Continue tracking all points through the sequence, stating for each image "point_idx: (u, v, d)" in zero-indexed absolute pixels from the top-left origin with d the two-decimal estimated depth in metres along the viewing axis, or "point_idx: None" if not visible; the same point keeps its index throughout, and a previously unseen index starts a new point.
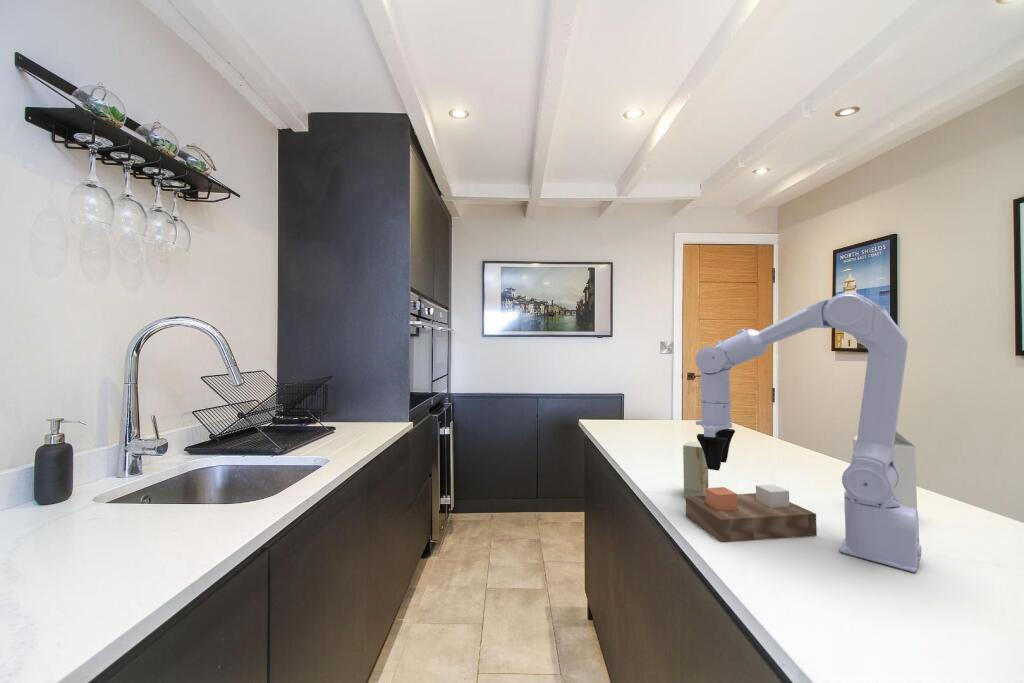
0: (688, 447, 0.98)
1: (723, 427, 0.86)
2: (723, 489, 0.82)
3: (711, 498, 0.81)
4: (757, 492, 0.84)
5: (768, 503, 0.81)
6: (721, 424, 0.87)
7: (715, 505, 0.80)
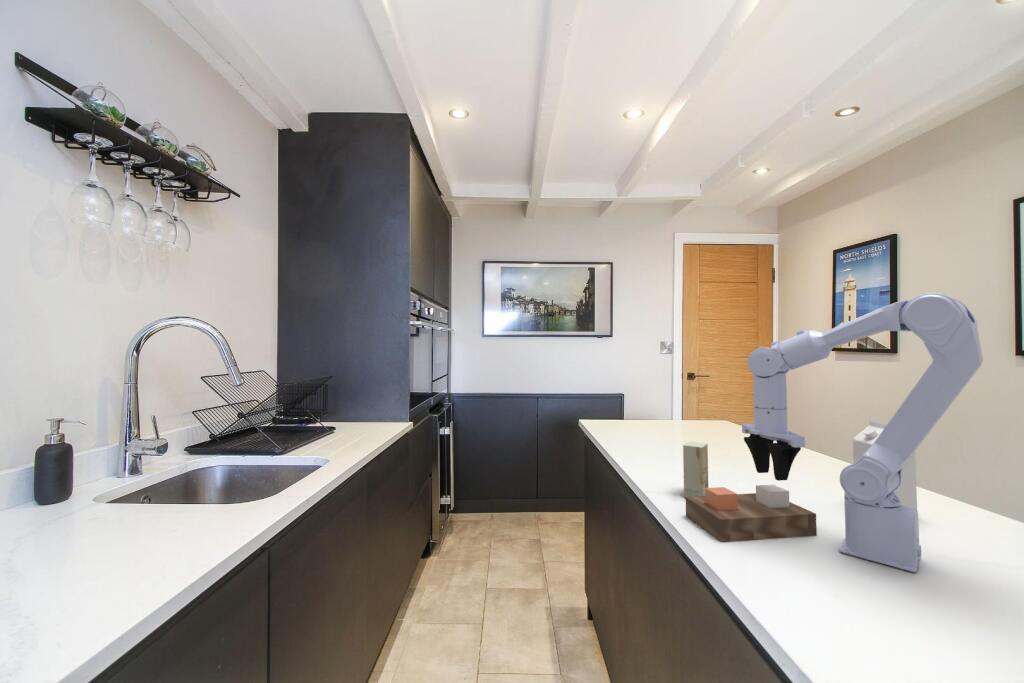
0: (688, 447, 0.98)
1: None
2: (723, 489, 0.82)
3: (711, 498, 0.81)
4: (757, 492, 0.84)
5: (768, 503, 0.81)
6: (787, 431, 0.81)
7: (715, 505, 0.80)
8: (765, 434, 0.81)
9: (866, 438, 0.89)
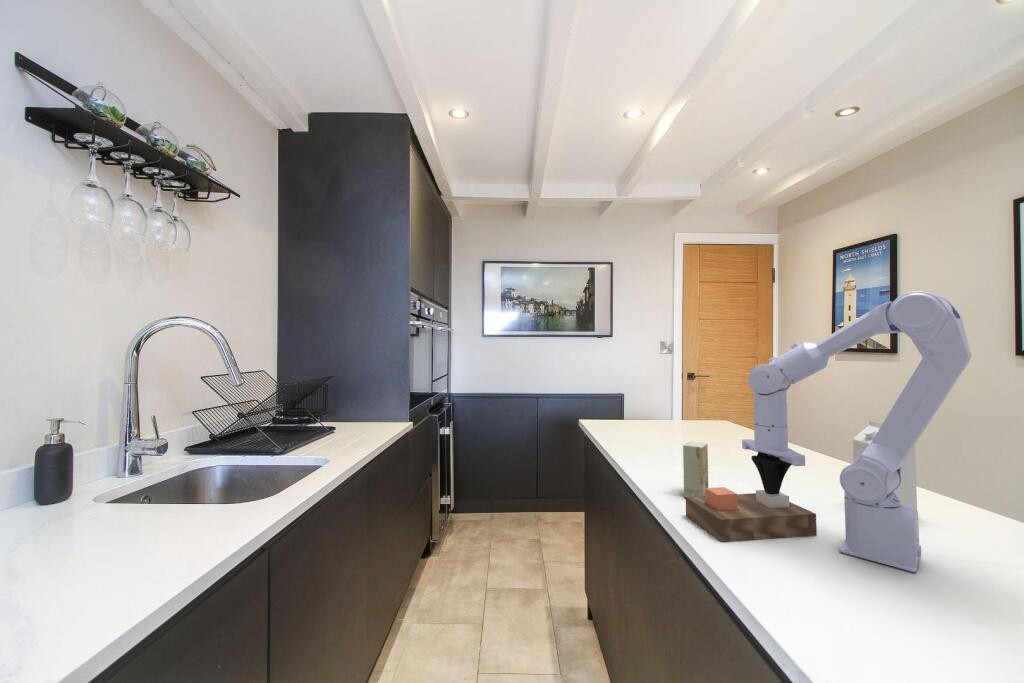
0: (688, 447, 0.98)
1: None
2: (723, 489, 0.82)
3: (711, 498, 0.81)
4: (757, 496, 0.84)
5: None
6: (787, 449, 0.81)
7: (715, 505, 0.80)
8: (765, 452, 0.81)
9: (866, 438, 0.89)
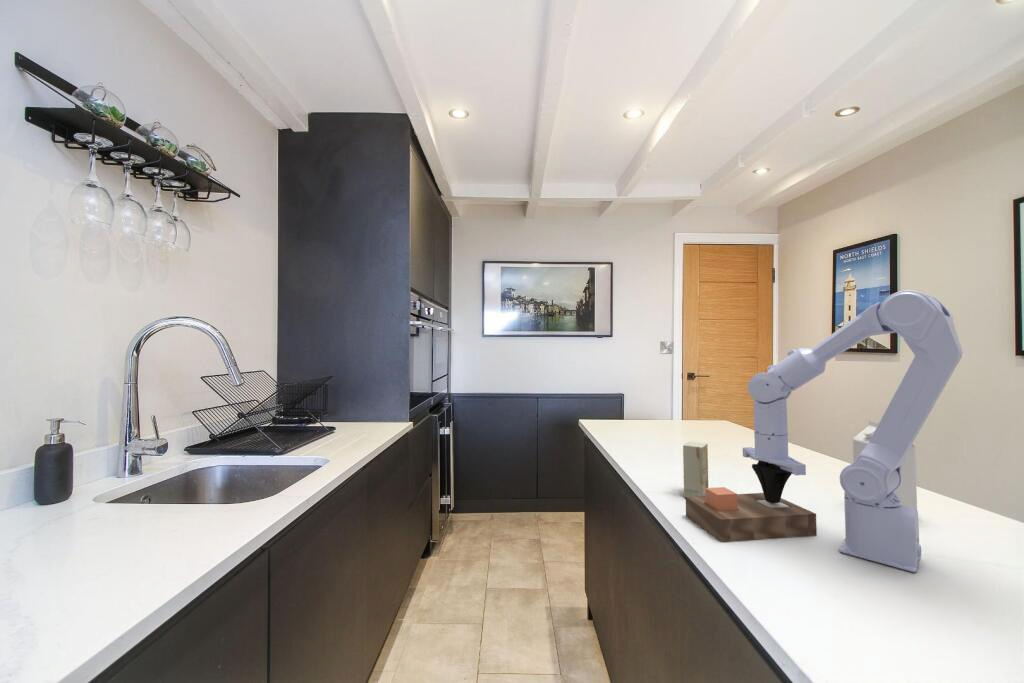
0: (688, 447, 0.98)
1: None
2: (723, 489, 0.82)
3: (711, 498, 0.81)
4: None
5: None
6: (787, 457, 0.81)
7: (715, 505, 0.80)
8: (766, 460, 0.81)
9: (866, 438, 0.89)
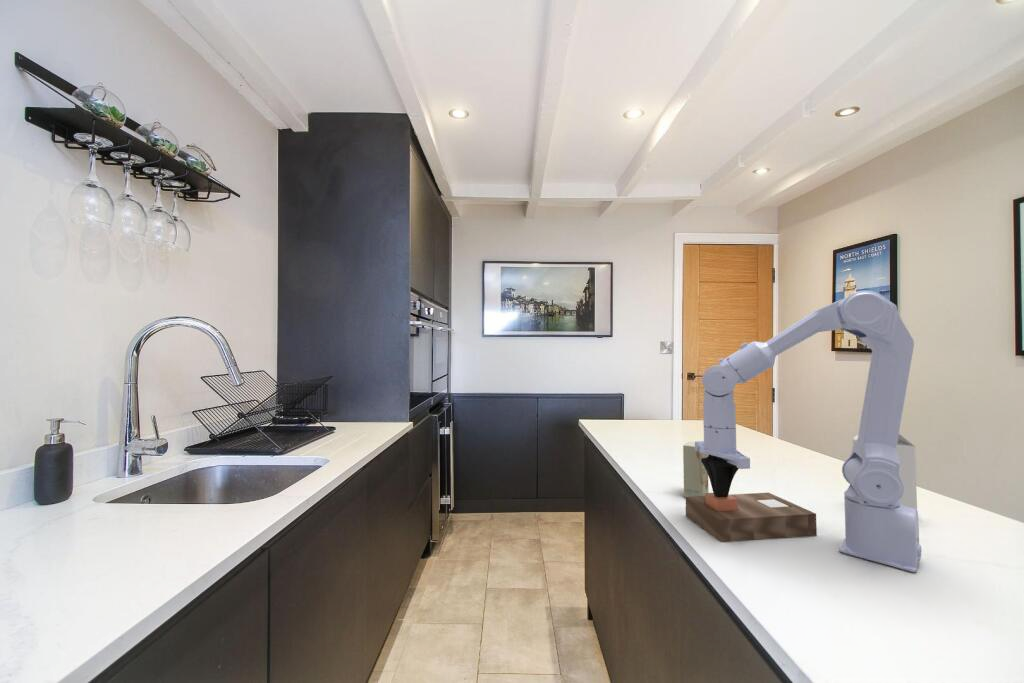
0: (688, 447, 0.98)
1: None
2: None
3: (711, 503, 0.81)
4: None
5: None
6: (735, 451, 0.80)
7: None
8: (713, 454, 0.80)
9: None
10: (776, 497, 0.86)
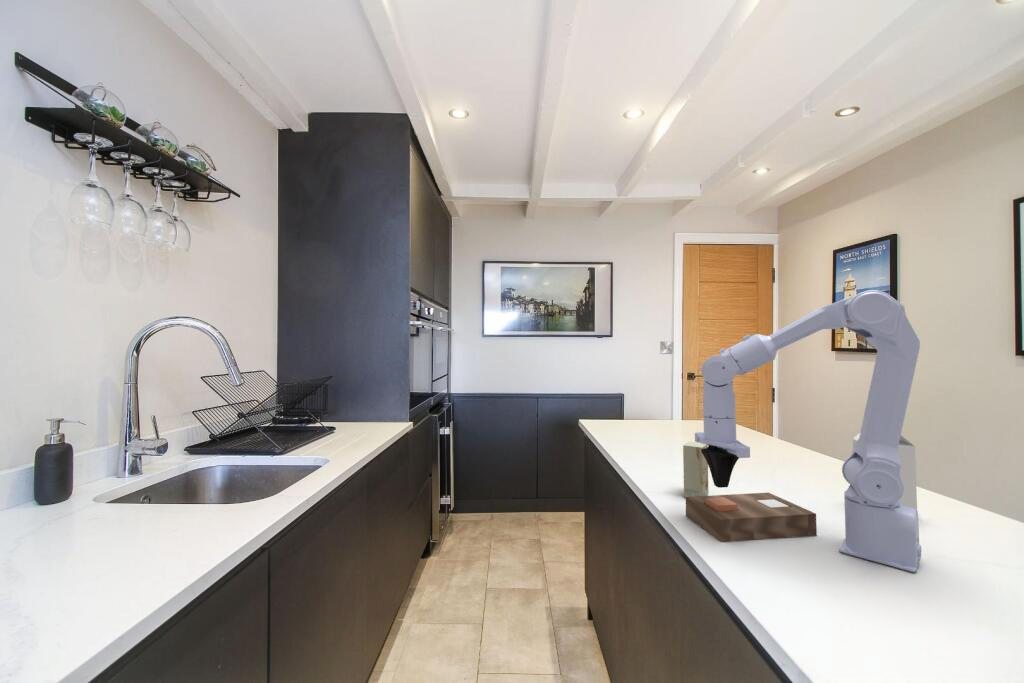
0: (688, 447, 0.98)
1: None
2: (723, 499, 0.82)
3: None
4: None
5: None
6: (735, 441, 0.80)
7: None
8: (713, 444, 0.80)
9: None
10: (776, 497, 0.86)
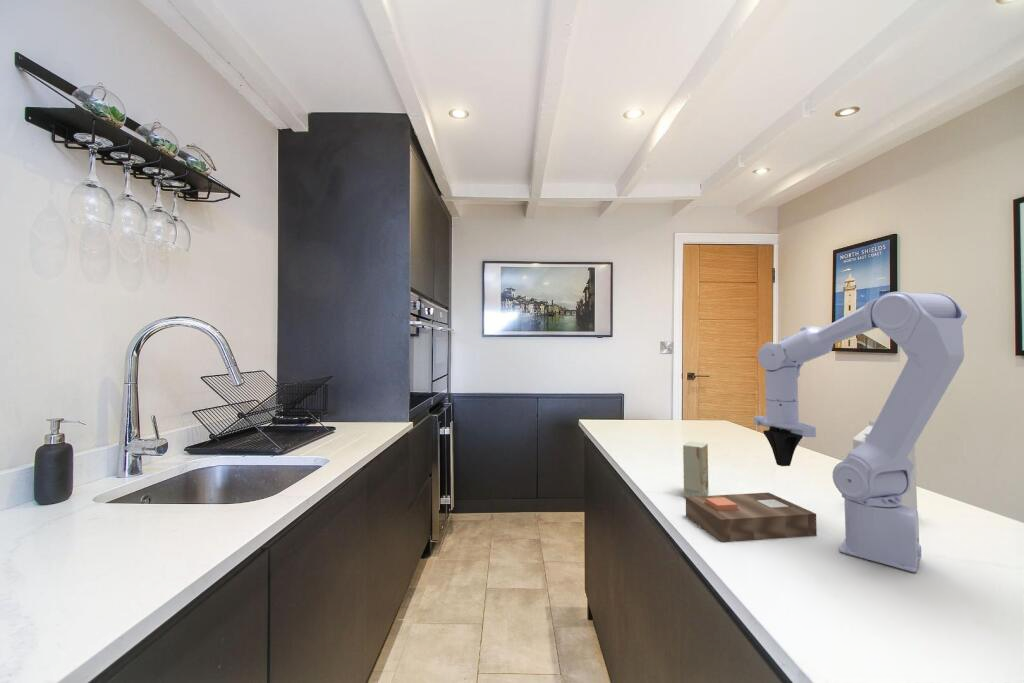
0: (688, 447, 0.98)
1: None
2: (723, 499, 0.82)
3: None
4: None
5: None
6: (798, 422, 0.85)
7: None
8: (777, 425, 0.85)
9: (866, 438, 0.89)
10: (776, 497, 0.86)
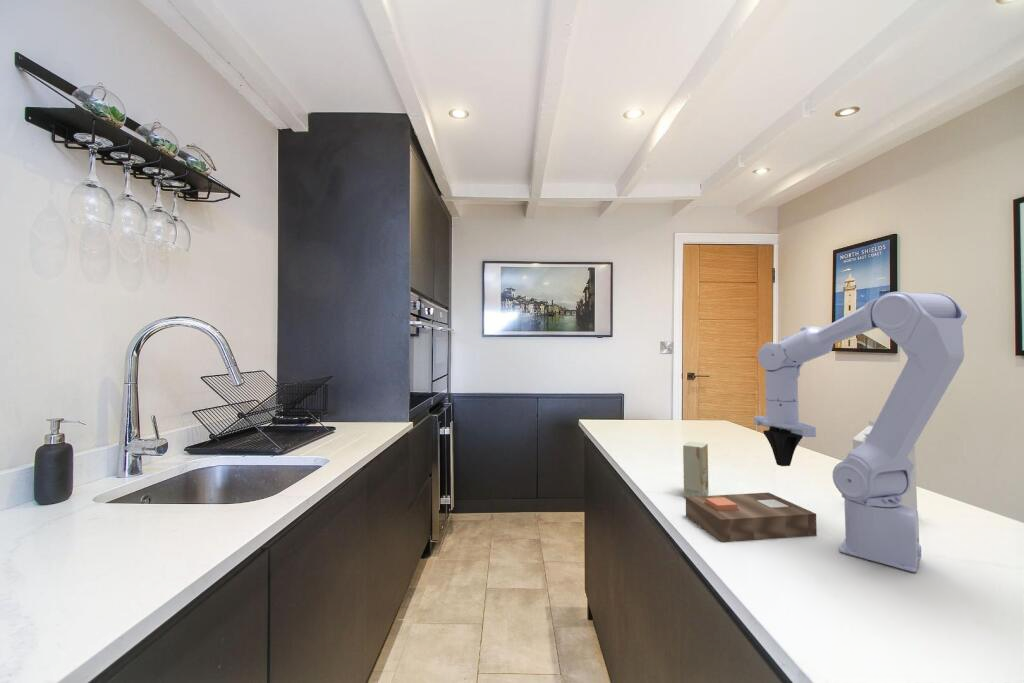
0: (688, 447, 0.98)
1: None
2: (723, 499, 0.82)
3: None
4: None
5: None
6: (798, 422, 0.85)
7: None
8: (777, 425, 0.85)
9: (866, 438, 0.89)
10: (776, 497, 0.86)
